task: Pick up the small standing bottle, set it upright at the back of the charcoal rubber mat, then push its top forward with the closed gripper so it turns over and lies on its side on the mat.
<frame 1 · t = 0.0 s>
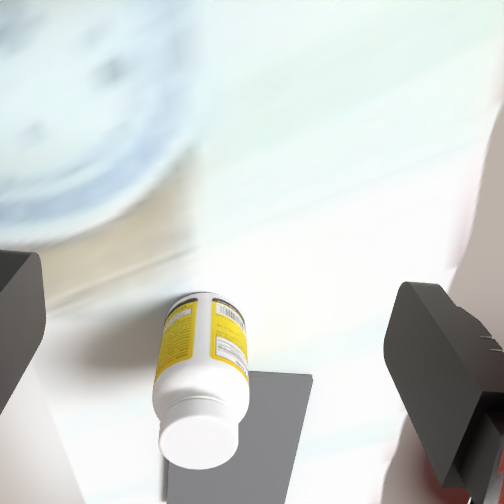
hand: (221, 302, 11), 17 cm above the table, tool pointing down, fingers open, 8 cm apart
rubber mat: (233, 442, 38), on the table
supplement bottle: (205, 321, 33), on the table
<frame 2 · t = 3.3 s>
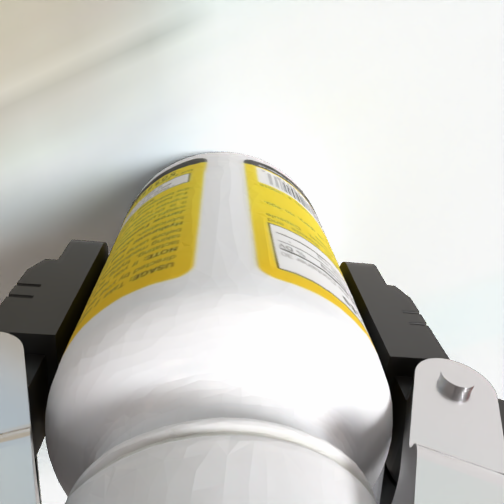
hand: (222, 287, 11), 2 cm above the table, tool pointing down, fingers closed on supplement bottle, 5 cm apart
supplement bottle: (223, 239, 14), on the table, touching gripper
when the fingers open (4 cm above the table, at t = 8.3 s): supplement bottle drops 1 cm, resting on rubber mat.
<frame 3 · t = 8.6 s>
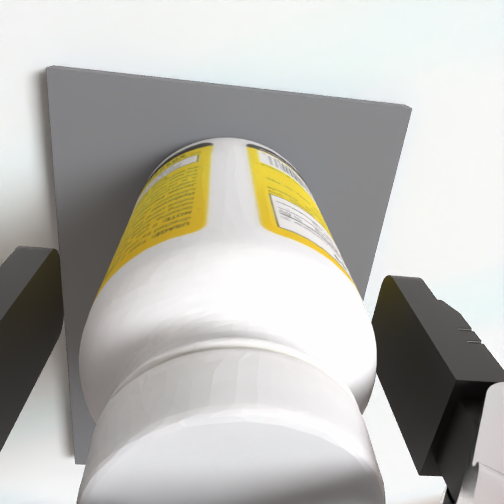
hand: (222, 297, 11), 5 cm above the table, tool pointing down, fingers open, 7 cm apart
rubber mat: (214, 307, 17), on the table
supplement bottle: (227, 219, 15), resting on rubber mat
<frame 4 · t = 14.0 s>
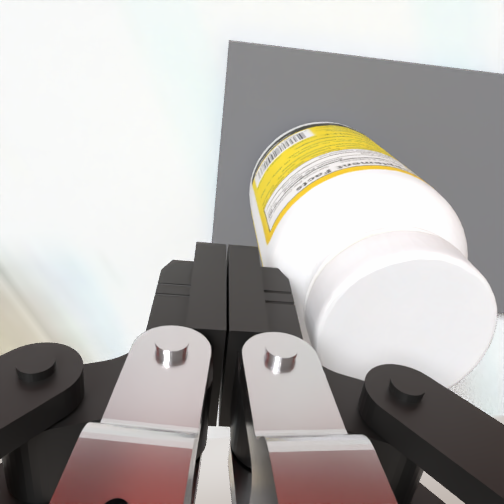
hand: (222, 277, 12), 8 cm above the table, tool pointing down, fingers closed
rubber mat: (398, 193, 20), on the table
supplement bottle: (316, 185, 19), resting on rubber mat, touching gripper
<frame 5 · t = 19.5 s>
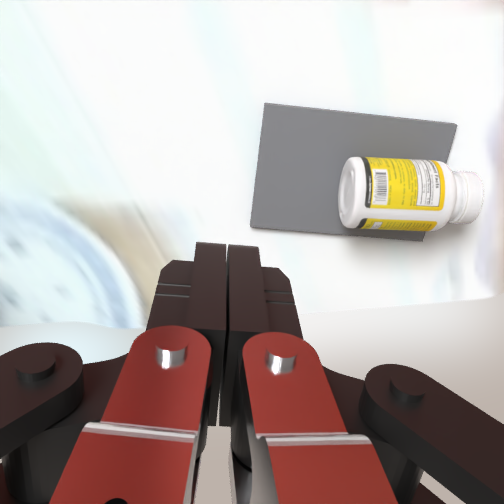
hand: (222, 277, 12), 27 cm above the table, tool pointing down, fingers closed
rubber mat: (348, 175, 39), on the table
supplement bottle: (342, 191, 36), point 3 cm above the table, touching rubber mat
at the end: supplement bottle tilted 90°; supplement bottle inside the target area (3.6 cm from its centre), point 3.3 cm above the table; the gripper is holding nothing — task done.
